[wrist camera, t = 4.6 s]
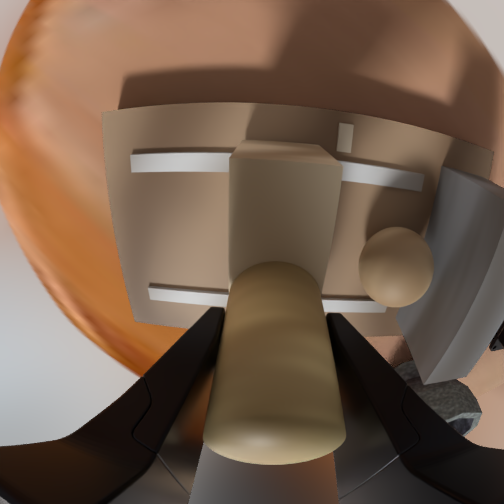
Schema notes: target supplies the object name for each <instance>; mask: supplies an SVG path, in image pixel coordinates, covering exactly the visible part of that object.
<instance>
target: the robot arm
mask: <svg viewBox="0 0 504 504" xmlns="http://www.w3.org/2000/svg"><path fill="white" fill-rule="evenodd" d="M224 317H225V309H224V308H223V307H214V306H213V307H210V308H209V309H208V310H207V311H206V312H205V313H204V314H203V315H202V316H201V317H200V318H199V319H198V320H197V321H196V322H195V323H194V324H193V325H192V326H191V327H190V328H189V329H188V330H187V331H186V332H185V333H184V334H183V335H182V336H181V337H180V339H179V340H178V341H177V342H176V343H175V344H174V345H173V346H172V347H171V348H170V349H169V350H168V351H167V352H166V353H165V354H164V355H163V356H162V357H161V358H160V359H159V360H158V361H157V362H156V363H155V364H154V365H153V366H152V367H151V368H150V369H149V370H148V371H147V372H146V373H145V374H144V375H143V377H140V379H139V380H138V381H137V382H136V383H135V384H133V386H131V387H130V388H129V389H128V390H127V391H126V392H125V393H124V394H123V395H122V396H121V397H119V398H118V399H117V400H116V401H114V402H113V403H112V404H111V405H110V406H108V407H107V408H106V409H104V410H103V411H102V412H101V413H99V414H98V415H97V416H95V417H94V418H93V419H91V420H90V421H89V422H87V423H86V424H85V425H83V426H82V427H81V428H79V429H78V430H76V431H75V432H73V433H72V434H70V435H68V436H66V437H64V438H61V439H58V440H53V441H46V442H40V443H32V444H23V445H14V446H0V504H188V502H189V499H190V496H189V495H190V494H191V490H192V487H193V483H194V479H195V475H196V471H197V467H198V463H199V459H200V455H201V451H202V447H203V443H204V441H203V431H204V425H205V420H206V414H207V408H208V403H209V397H210V392H211V386H212V381H213V375H214V370H215V364H216V359H217V354H218V349H219V343H220V338H221V333H222V328H223V322H224ZM326 322H327V327H328V332H329V337H330V342H331V347H332V352H333V357H334V362H335V368H336V373H337V379H338V385H339V391H340V397H341V403H342V409H343V416H344V422H345V429H346V439H345V441H344V442H343V444H342V445H341V446H339V447H338V448H337V449H336V450H334V451H333V453H334V462H335V470H336V478H337V488H338V497H339V504H504V450H502V449H495V448H488V447H482V446H479V445H476V444H474V443H472V442H470V441H469V440H467V439H466V438H465V437H464V436H462V435H461V434H460V433H459V432H458V431H457V430H456V429H454V428H453V427H452V426H451V425H450V424H449V423H448V422H446V421H445V420H444V419H443V418H442V417H441V416H440V415H439V414H437V413H436V412H435V411H434V410H433V409H432V408H431V407H430V406H429V405H428V404H427V403H426V402H425V401H424V400H423V399H422V398H421V397H420V396H419V395H418V394H417V393H416V392H415V391H414V390H413V389H412V388H411V387H410V385H407V382H406V381H405V380H404V379H403V378H402V377H401V376H400V375H399V374H398V373H397V372H396V371H395V370H394V368H393V367H392V366H391V365H390V364H389V363H388V362H387V361H386V360H385V359H384V358H383V357H382V356H381V355H380V354H379V353H378V351H377V350H376V349H375V348H374V347H373V346H372V345H371V344H370V343H369V342H368V341H367V340H366V339H365V338H364V337H363V336H362V335H361V334H360V333H359V332H358V331H357V329H356V328H355V327H354V326H353V325H352V324H351V323H350V322H349V321H348V320H347V319H346V318H345V317H344V316H343V315H342V314H341V313H332V312H329V313H327V315H326ZM489 348H490V350H491V351H496V350H500V349H504V323H503V325H502V327H501V328H500V330H499V332H498V333H497V335H496V336H495V338H494V340H493V341H492V343H491V344H490V346H489Z"/></svg>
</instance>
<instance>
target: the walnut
mask: <svg viewBox="0 0 504 504" xmlns="http://www.w3.org/2000/svg"><path fill="white" fill-rule="evenodd" d="M358 271H359V278H360V281H361V284H362V286H363V288H364V290H365V291H366V293H367V294H368V295H369V296H370V297H371V298H372V299H373V300H375V301H376V302H378V303H379V304H381V305H384V306H388V307H404V306H407V305H410V304H412V303H414V302H415V301H417V300H418V299H420V298H421V297H422V296H423V295H424V293H425V292H426V291H427V289H428V288H429V286H430V283H431V281H432V278H433V273H434V260H433V256H432V252H431V250H430V248H429V246H428V244H427V243H426V241H425V240H424V239H423V238H422V237H421V236H420V235H419V234H417V233H416V232H414V231H412V230H410V229H407V228H403V227H390V228H386V229H383V230H381V231H379V232H377V233H376V234H374V235H373V236H372V237H371V238H370V239H369V240H368V241H367V242H366V244H365V245H364V247H363V249H362V251H361V254H360V257H359V264H358Z"/></svg>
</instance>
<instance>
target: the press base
mask: <svg viewBox="0 0 504 504" xmlns="http://www.w3.org/2000/svg"><path fill="white" fill-rule="evenodd" d="M102 131H103V146H104V159H105V169H106V178H107V187H108V195H109V202H110V209H111V215H112V221H113V227H114V233H115V238H116V244H117V249H118V254H119V259H120V263H121V268H122V272H123V277H124V281H125V285H126V289H127V293H128V297H129V301H130V305H131V309H132V312H133V316H134V320H135V322H141V323H148V324H155V325H163V326H171V327H179V328H188V329H189V328H190V327H191V326H192V325H193V324H194V323H195V322H196V321H197V320H198V319H199V318H200V317H201V316H202V315H203V314H204V313H205V312H206V311H207V310H208V309H209V308H210V307H213V306H214V307H223V308H224V309H225V312H226V306H227V301H228V296H229V266H228V217H229V157H230V156H231V155H232V153H233V152H234V150H235V149H236V148H237V146H238V145H239V144H240V142H241V141H242V140H265V141H281V142H294V143H305V144H315V145H320V146H321V147H322V148H323V149H324V150H325V151H327V152H328V153H329V154H330V155H331V156H332V157H333V158H335V159H336V160H337V161H338V162H339V163H340V164H341V165H342V166H343V174H342V181H341V189H340V196H339V202H338V209H337V215H336V221H335V227H334V233H333V238H332V244H331V249H330V255H329V260H328V265H327V270H326V275H325V280H324V285H323V289H322V294H321V299H322V303H323V308H324V312H325V317H326V315H327V313H329V312H332V313H341V314H342V315H343V316H344V317H345V318H346V319H347V320H348V321H349V322H350V323H351V324H352V325H353V326H354V327H355V328H356V329H357V331H358V332H359V333H360V334H361V335H362V336H363V337H370V336H398V335H403V336H404V338H405V340H406V343H407V345H408V347H409V350H410V352H411V355H412V357H413V359H414V362H415V364H416V367H417V369H418V372H419V374H420V377H421V380H422V382H423V385H426V384H432V383H438V382H443V381H448V380H453V379H458V378H463V377H466V376H467V375H468V374H469V372H470V371H471V370H472V368H473V367H474V365H475V364H476V363H477V361H478V360H479V358H480V357H481V356H482V354H483V353H484V351H485V350H486V348H487V347H488V345H489V344H490V342H491V340H492V339H493V337H494V336H495V334H496V332H497V331H498V329H499V327H500V326H501V324H502V322H503V321H504V188H502V187H500V186H499V185H497V184H495V183H493V182H491V181H490V180H489V176H490V171H491V166H492V160H493V155H494V152H493V151H491V150H488V149H485V148H483V147H480V146H477V145H475V144H472V143H469V142H466V141H463V140H460V139H457V138H454V137H451V136H448V135H445V134H442V133H438V132H435V131H431V130H428V129H424V128H420V127H417V126H413V125H409V124H405V123H401V122H396V121H392V120H387V119H383V118H378V117H373V116H367V115H362V114H356V113H350V112H344V111H337V110H330V109H322V108H314V107H305V106H294V105H282V104H266V103H236V102H213V103H183V104H167V105H155V106H145V107H136V108H128V109H120V110H113V111H107V112H102ZM390 227H403V228H407V229H410V230H412V231H414V232H416V233H417V234H419V235H420V236H421V237H422V238H423V239H424V240H425V241H426V243H427V244H428V246H429V248H430V250H431V252H432V256H433V260H434V273H433V278H432V281H431V283H430V286H429V288H428V289H427V291H426V292H425V293H424V295H423V296H422V297H421V298H420V299H418V300H417V301H415V302H414V303H412V304H410V305H407V306H404V307H388V306H384V305H381V304H379V303H378V302H376V301H375V300H373V299H372V298H371V297H370V296H369V295H368V294H367V293H366V291H365V290H364V288H363V286H362V284H361V281H360V278H359V271H358V264H359V257H360V254H361V251H362V249H363V247H364V245H365V244H366V242H367V241H368V240H369V239H370V238H371V237H372V236H373V235H374V234H376V233H377V232H379V231H381V230H383V229H386V228H390Z"/></svg>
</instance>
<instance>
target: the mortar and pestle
mask: <svg viewBox="0 0 504 504" xmlns="http://www.w3.org/2000/svg"><path fill="white" fill-rule="evenodd" d="M394 370H395V371H396V372H397V373H398V374H399V375H400V376H401V377H402V378H403V379H404V380H405V381H406V382H407V385H410V387H411V388H412V389H413V390H414V391H415V392H416V393H417V394H418V395H419V396H420V397H421V398H422V399H423V400H424V401H425V402H426V403H427V404H428V405H429V406H430V407H431V408H432V409H433V410H434V411H435V412H436V413H437V414H439V415H440V416H441V417H442V418H443V419H444V420H445V421H446V422H448V423H449V424H450V425H451V426H452V427H453V428H454V429H456V430H457V431H458V432H459V433H460V434H461V435H462V436H465V435H467V434H468V433H469V432H470V431H472V430H473V429H474V428H475V427H476V426H477V425H478V422H479V420H480V417H481V414H482V411H481V409H480V406H479V404H478V402H477V399H476V398H475V396H474V395H473V393H472V392H471V390H470V389H469V388H468V386H466V385H465V384H463V383H461V382H460V381H458V380H456V379H453V380H448V381H443V382H438V383H432V384H426V385H423V382H422V380H421V377H420V374H419V372H418V369H417V367H416V364H415V362H414V360H412V361H409V362H405V363H402V364H401V365H399V366H397V367H396V368H394Z"/></svg>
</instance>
